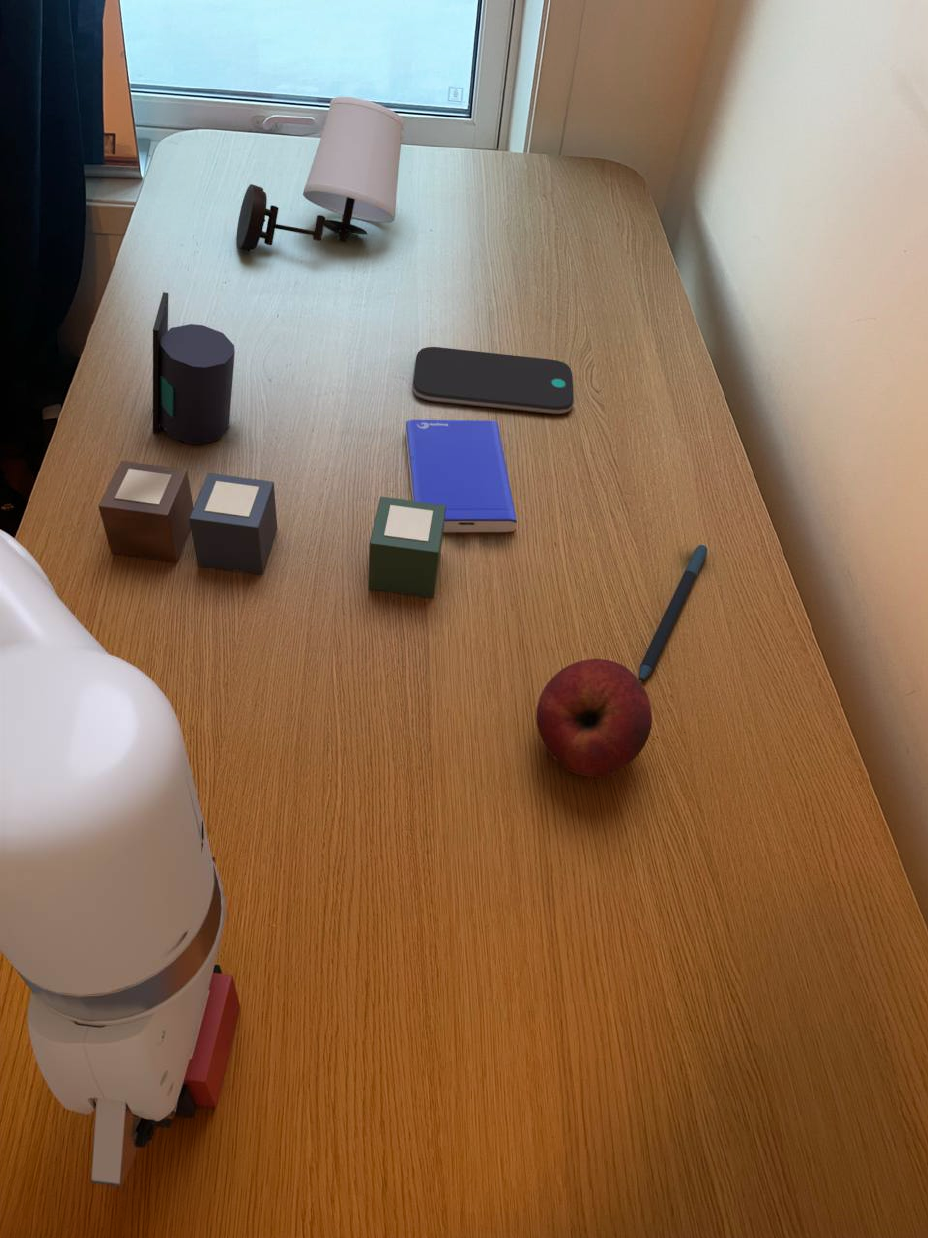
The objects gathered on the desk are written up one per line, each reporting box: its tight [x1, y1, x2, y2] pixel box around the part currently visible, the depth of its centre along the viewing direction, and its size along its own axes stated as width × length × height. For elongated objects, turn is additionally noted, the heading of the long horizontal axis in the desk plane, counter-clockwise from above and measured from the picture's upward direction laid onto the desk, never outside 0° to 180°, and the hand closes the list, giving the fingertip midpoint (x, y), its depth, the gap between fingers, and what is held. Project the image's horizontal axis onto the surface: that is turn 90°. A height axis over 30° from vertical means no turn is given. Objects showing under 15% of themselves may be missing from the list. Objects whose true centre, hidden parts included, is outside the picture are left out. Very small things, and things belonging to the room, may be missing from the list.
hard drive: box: [404, 419, 518, 533], centre depth 79 cm, size 2×8×12 cm
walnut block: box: [98, 460, 194, 564], centre depth 70 cm, size 5×5×5 cm
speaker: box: [152, 291, 236, 445], centre depth 77 cm, size 8×6×10 cm
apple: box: [536, 658, 653, 778], centre depth 61 cm, size 7×8×8 cm
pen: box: [638, 544, 708, 684], centre depth 72 cm, size 1×16×1 cm, turn 154°
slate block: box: [189, 472, 278, 575], centre depth 70 cm, size 5×5×5 cm
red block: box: [183, 973, 241, 1108], centre depth 47 cm, size 5×5×5 cm
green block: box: [368, 496, 446, 599], centre depth 70 cm, size 5×5×5 cm
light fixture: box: [235, 96, 405, 253], centre depth 100 cm, size 10×16×17 cm
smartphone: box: [412, 346, 575, 415], centre depth 88 cm, size 8×1×15 cm
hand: (180, 1047), depth 49 cm, fingers closed on red block, 5 cm apart
